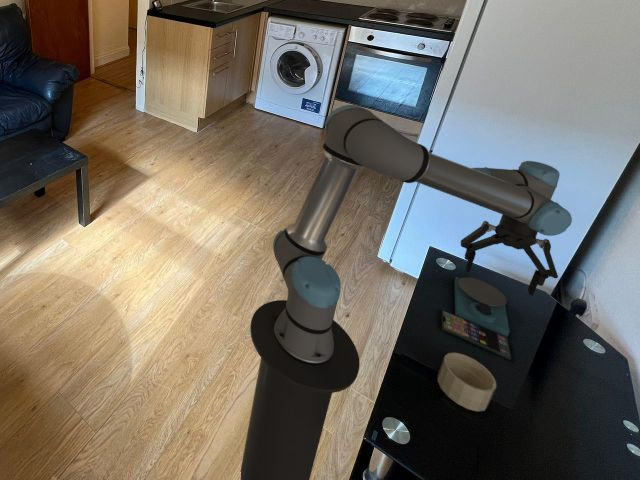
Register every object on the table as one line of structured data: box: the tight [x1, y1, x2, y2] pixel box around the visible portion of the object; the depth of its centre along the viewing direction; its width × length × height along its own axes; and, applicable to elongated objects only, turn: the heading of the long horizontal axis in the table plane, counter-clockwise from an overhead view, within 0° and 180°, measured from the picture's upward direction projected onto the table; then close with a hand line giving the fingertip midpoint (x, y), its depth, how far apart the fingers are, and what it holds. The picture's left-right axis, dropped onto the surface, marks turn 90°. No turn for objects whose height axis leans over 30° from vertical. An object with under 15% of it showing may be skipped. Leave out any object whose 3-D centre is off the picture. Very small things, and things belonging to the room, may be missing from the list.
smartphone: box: [441, 309, 512, 361], centre depth 115 cm, size 8×15×1 cm, turn 54°
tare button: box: [477, 303, 491, 315], centre depth 119 cm, size 3×3×2 cm
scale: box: [453, 276, 510, 338], centre depth 125 cm, size 18×12×4 cm, turn 142°
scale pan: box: [458, 277, 507, 307], centre depth 126 cm, size 12×12×1 cm
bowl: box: [436, 352, 497, 412], centre depth 98 cm, size 10×10×7 cm
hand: (497, 280), depth 115 cm, fingers open, 13 cm apart
